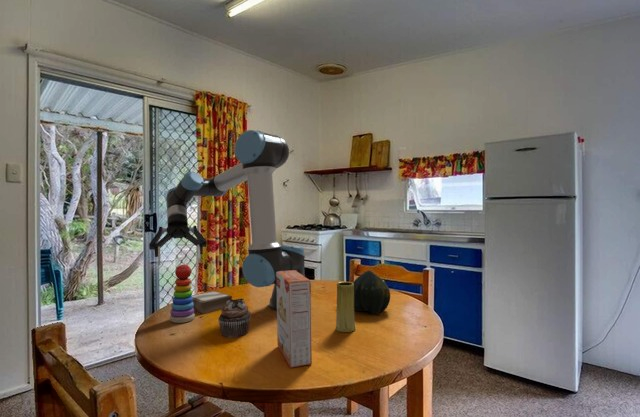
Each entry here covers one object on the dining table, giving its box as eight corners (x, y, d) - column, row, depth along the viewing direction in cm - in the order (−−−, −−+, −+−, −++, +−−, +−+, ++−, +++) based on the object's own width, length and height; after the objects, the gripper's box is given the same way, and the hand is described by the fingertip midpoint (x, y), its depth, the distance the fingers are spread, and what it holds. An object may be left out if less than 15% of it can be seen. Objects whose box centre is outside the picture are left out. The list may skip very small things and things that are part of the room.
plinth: (231, 306, 136) (231, 295, 136) (203, 313, 127) (203, 302, 127) (214, 300, 144) (214, 290, 144) (186, 307, 135) (186, 296, 135)
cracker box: (275, 346, 98) (275, 270, 97) (297, 343, 100) (296, 269, 99) (288, 369, 85) (287, 281, 84) (312, 365, 86) (312, 279, 86)
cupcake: (216, 330, 111) (216, 298, 111) (247, 325, 115) (247, 294, 115) (220, 341, 102) (220, 306, 102) (254, 335, 106) (253, 302, 106)
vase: (357, 327, 113) (357, 282, 113) (352, 333, 107) (352, 286, 107) (338, 325, 115) (338, 280, 115) (333, 331, 109) (333, 285, 109)
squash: (366, 305, 118) (384, 267, 125) (335, 298, 129) (353, 263, 136) (387, 326, 125) (403, 289, 131) (356, 318, 136) (372, 284, 143)
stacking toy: (186, 324, 116) (185, 267, 116) (164, 323, 118) (163, 266, 117) (199, 317, 124) (198, 263, 123) (178, 315, 125) (178, 262, 125)
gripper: (208, 224, 151) (214, 265, 138) (143, 226, 141) (142, 270, 127) (210, 212, 146) (216, 253, 133) (142, 213, 136) (141, 257, 122)
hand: (179, 261), depth 130 cm, fingers open, 13 cm apart
